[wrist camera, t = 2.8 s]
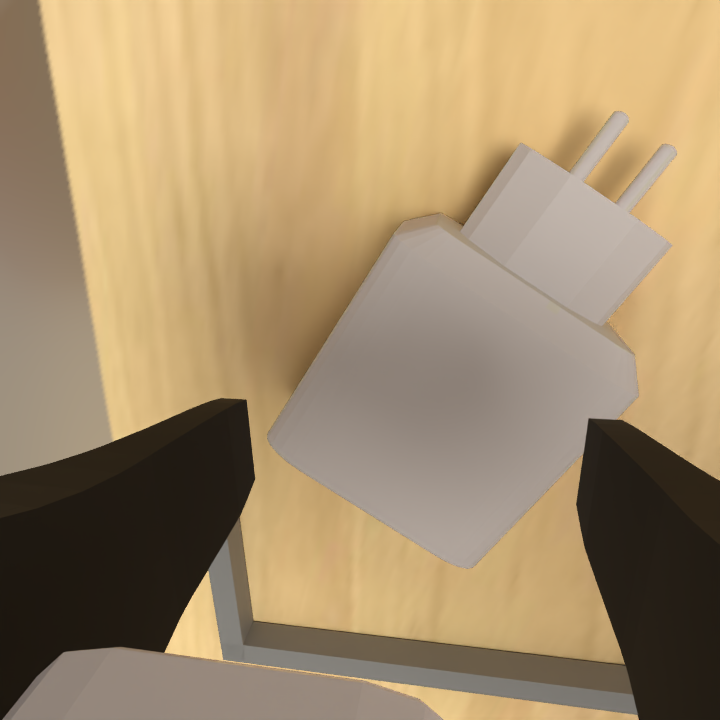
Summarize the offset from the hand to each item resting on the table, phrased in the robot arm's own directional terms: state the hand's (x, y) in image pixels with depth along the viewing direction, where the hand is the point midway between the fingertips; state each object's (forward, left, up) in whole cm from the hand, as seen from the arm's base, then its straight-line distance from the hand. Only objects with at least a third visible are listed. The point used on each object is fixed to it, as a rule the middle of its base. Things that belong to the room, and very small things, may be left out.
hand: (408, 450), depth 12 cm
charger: (0, -2, -11) cm, 11 cm away
